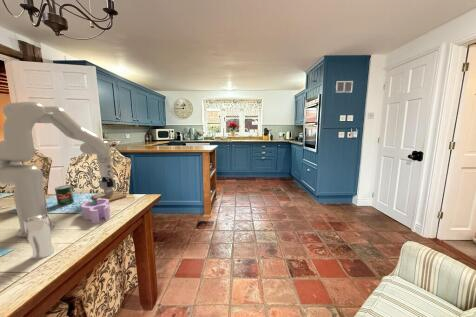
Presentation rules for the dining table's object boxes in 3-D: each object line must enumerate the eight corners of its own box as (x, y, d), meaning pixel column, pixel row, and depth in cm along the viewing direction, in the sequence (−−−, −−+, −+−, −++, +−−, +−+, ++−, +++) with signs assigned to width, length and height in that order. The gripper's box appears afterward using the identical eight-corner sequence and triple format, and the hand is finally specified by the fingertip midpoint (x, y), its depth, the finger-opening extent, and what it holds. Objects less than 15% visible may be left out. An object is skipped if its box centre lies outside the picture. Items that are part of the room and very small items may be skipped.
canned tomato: (70, 200, 132) (67, 184, 130) (76, 202, 128) (74, 185, 126) (55, 204, 125) (52, 188, 123) (61, 207, 121) (58, 189, 119)
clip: (116, 218, 107) (115, 205, 105) (87, 226, 98) (85, 213, 97) (106, 207, 120) (105, 196, 119) (80, 214, 112) (78, 202, 110)
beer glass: (60, 248, 81) (54, 213, 78) (44, 259, 74) (37, 222, 71) (42, 248, 81) (35, 213, 78) (25, 260, 74) (16, 222, 71)
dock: (126, 196, 137) (125, 186, 135) (103, 203, 125) (102, 192, 124) (113, 192, 147) (112, 182, 145) (91, 198, 135) (90, 187, 134)
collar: (116, 186, 136) (115, 179, 135) (104, 189, 130) (103, 182, 129) (111, 185, 140) (110, 178, 139) (100, 188, 134) (99, 180, 133)
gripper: (116, 160, 130) (120, 186, 133) (104, 157, 139) (108, 182, 143) (103, 162, 123) (107, 189, 127) (92, 159, 133) (96, 185, 136)
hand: (107, 185), depth 135 cm, fingers closed on collar, 7 cm apart
